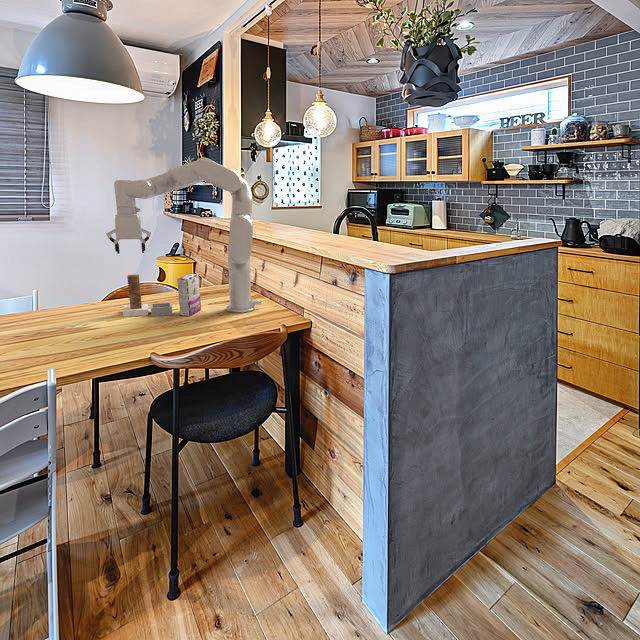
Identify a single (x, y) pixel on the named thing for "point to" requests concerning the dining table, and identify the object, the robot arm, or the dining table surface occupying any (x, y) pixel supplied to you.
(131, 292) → the walnut block
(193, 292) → the candy bar box
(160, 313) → the pocket
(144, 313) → the thin white tile
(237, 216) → the robot arm
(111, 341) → the dining table surface
